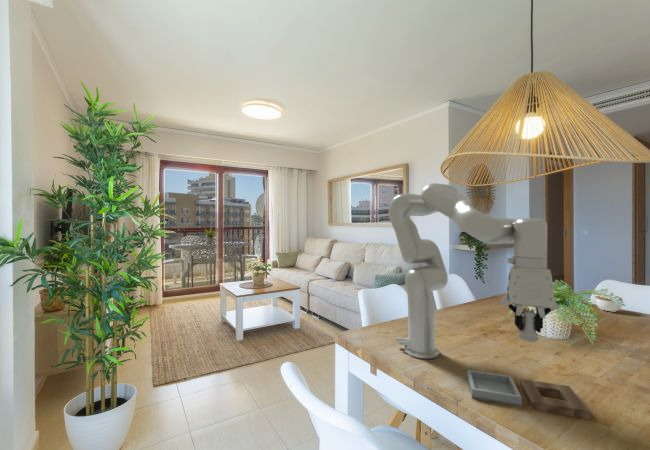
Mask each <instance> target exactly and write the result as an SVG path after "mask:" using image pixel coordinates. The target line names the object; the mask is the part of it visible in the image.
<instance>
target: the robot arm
mask: <svg viewBox="0 0 650 450" xmlns="http://www.w3.org/2000/svg"><path fill="white" fill-rule="evenodd" d="M420 193H421V194H418V193H417V194H416V193H415V194H414V193H400V194H399V195H396V196H395V197H393V199H392V200H391V201H390V204H389V206H388V207H389V208H388V216H389V217H388V218H389V221H390V223H391V225H392V228H393V230H394V233H395V236H396V240H397V244H398V247H399V251H400V254H401V257H402V259H403V261H404V262H405V263H406V264H407V265H420V264H421V266H418V267H417V266H416V267H413V268H411V269H409V270H408V271H407V273H406V274H405V276H404V277H405V279H404V281H405V289H406V293H407V295H406V296H407V331H408V333H407V337H406V336H404V337H399V336H396V338H395V339H396V340H395V341H396V343H398V344H399V345H401V346H404V347H403V350H404V352H405V353H406V354H407V355H409V356H411V357H413V358H418V359H426V360H427V359H428V360H429V359H435V358H437V357H439V356H440V349H439V348H438V347H437V346H436V327H435V325H436V324H435V323H436V318H435V317H436V311H435V310H436V309H435V308H436V307H435V301H434V298H433V295H432V292H434V291H439V290H442V289H444V288H445V287H446V286H447V284H448V280H449V278H448V274H447V273H448V272H447V269H446V266H445V262H444V260H443V257H442V253H441V251H440V248H439V247H438V245H437V244H436V242H434V241H433V240H431V239H427V238H425V239H424V238H423V239H422V238H421V236H420V233H419V230H418V228H417V226H416V223H414V221H413V219H412V218H411V217H414V216H415V217H425V216H429V215H432V214H435V213H441V214H442V215H443V216H446V217H447V218H449V219H451V220H452V221H453V222H454V223H455V225H456V226H457V227H458V229H460V230H461V231H462V232H464V233H466V234H467V235H469V236H471V237H473V238H474V239H475V240H478V241H480V242H482V243H485V244H489V245H492V244H493V245H494V244H496V245H497V244H509V243H513V255H512V257H510V258H507V263H508V264H511V265H512V266H510V269H509V272H508V277H507V284H506V285H507V286H506V292H505V294H504V295H503V297H502V298H501V300H500V303H501V304H502V305H504V306H505V307H507V308H508V309H510V310H511V311H512V312H513V313H514V326H515V327H517V329H518V330H519V331H520V330H521V331H522V330H523V317H524V315H523V314H522V312H523V311H522V309H523V307H531V308H532V307H533V308H534V307H535V314H536V315H535V316H534V319H535V321H534V327H535V330H536V333H542V332H541V331H542V330H543V328H544V327H543V326H544V322H543V321H544V319H545V317H546V316H547V315H549V314H550V313H551V312H554V311H555V310H558V309H559V308H560V305H559V304H558V302H557V301H556V299H555V295H554V294H555V292H554V291H555V290H554V281H553V276H552V271H551V269H548V268H547V267H548V266H547V262H548V260H547V257H548V256H547V255H548V253H547V252H548V223H547V221H546V220H545V219H543V218H533V217H532V218H528V217H527V218H518V219H516V218H509V217H492V216H490V215H488V214H486V213H483V212H481V211H479V210H478V209H476V208H474V207H473V206H472V201H471V199H470V198H469V197H467V196H465V195H463V194H460V193H459V192H458V190H457V189H456V187H454V186H452V185H450V184H445V183H437V182H436V183H435V182H434V183H433V182H432V183H429V184H427V185H426V186H424V187H423V189H422V191H421V192H420Z"/></svg>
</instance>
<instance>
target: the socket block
mask: <svg viewBox="0 0 650 450" xmlns="http://www.w3.org/2000/svg"><path fill="white" fill-rule="evenodd" d="M518 380H519V381H518V382H519V383H518V385H519V387H520V390H521V393H523V395H524V398H525V399H526V401H527V402H528V405H529V407H530V408H531V410H534V411H539V412H546V413H551V414H556V415H562V416H569V417H573V418H580V419H585V420H591V411H590V409H589V408H588V407H587V406H586V404H585V403H584V402H583V400H581V399H580V397H579V396H578V395H577V394H576V393H575V391H574V390H573V389H572V388H571V386H570V385H563V384H556V383H551V382H543V381H538V380H537V381H535V380H530V379H524V378H519V379H518ZM544 396H550V397H556V398H560V399H556V398H550V397H544Z"/></svg>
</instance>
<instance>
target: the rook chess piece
mask: <svg viewBox="0 0 650 450" xmlns="http://www.w3.org/2000/svg"><path fill="white" fill-rule="evenodd" d="M522 309H523V311H521V313H522V316H523V330H522V331H521V330H519V332H518V337H519V338H520V339H521V340H523V341H527V342H529V343H530V342H532V343H533V342H534V343H535V342H537V341H539V335H538V332H537V331H536V330H535V327H534V321H535V319H534V316H535V315H536V311H535V310H534V309H530V308H522Z"/></svg>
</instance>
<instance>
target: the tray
mask: <svg viewBox="0 0 650 450" xmlns="http://www.w3.org/2000/svg"><path fill="white" fill-rule="evenodd" d="M467 381H468V384H469V385H468V386H469V390H470V394H471V399H473V400H474V399H475V400H481V401H486V402H490V403H491V402H492V403H497V404H502V405H508V406H514V407H520V408H522V405H523V404H522V403H523V401H522V399H523V398H522V395H521V394H520V391H519V390H518V388H517V385H516V384H515V381H514V379H513V378H512V376H511V375H505V374H499V373H492V372H487V371H486V372H485V371H479V370H478V371H477V370H472V369H471V370H470V369H467Z"/></svg>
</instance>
